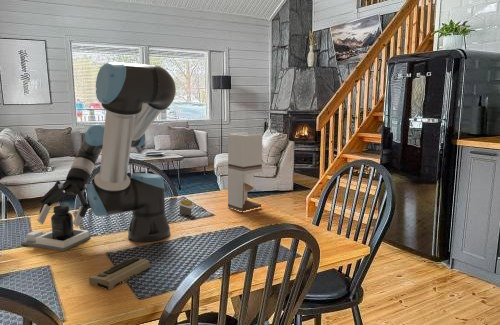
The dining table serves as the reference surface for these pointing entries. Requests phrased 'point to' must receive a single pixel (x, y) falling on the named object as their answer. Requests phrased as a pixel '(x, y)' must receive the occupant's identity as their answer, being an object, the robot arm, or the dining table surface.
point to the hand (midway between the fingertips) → (57, 223)
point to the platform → (185, 207)
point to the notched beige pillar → (243, 168)
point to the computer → (119, 273)
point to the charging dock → (48, 242)
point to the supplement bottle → (62, 223)
